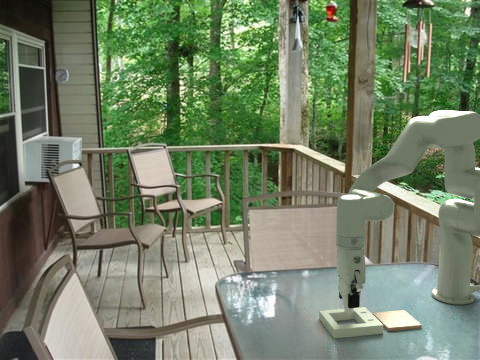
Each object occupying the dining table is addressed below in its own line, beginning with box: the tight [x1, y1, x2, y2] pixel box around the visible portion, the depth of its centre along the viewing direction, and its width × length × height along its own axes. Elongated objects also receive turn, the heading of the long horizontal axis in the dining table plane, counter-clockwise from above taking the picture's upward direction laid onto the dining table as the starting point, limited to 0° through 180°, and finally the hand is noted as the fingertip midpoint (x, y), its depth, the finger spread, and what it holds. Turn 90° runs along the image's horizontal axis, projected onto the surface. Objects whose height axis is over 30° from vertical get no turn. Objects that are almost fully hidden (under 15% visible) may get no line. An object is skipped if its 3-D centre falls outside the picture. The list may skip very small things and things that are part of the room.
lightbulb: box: [337, 279, 356, 315], centre depth 144 cm, size 6×6×11 cm
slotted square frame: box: [318, 306, 384, 339], centre depth 146 cm, size 14×12×3 cm
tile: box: [371, 309, 423, 332], centre depth 148 cm, size 10×10×1 cm
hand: (349, 302), depth 145 cm, fingers closed on lightbulb, 5 cm apart
